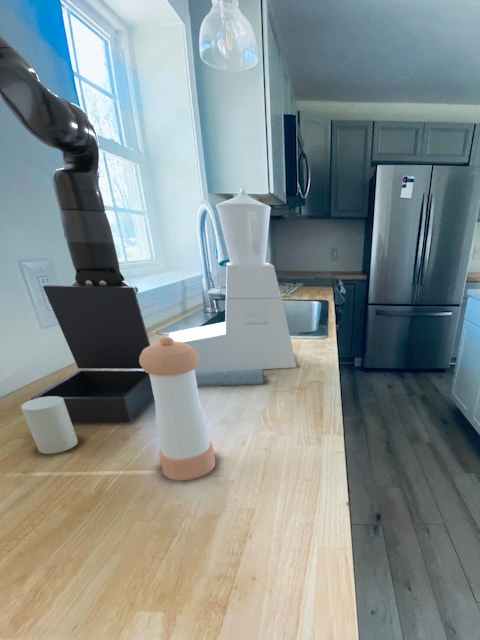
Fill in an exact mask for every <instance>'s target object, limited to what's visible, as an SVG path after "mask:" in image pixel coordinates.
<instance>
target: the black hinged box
mask: <svg viewBox="0 0 480 640" xmlns="http://www.w3.org/2000/svg"><path fill="white" fill-rule="evenodd" d="M48 396H58V397H62V398H63V399H64V402H65V405H66V408H67V411H68V414H69V417H70V420H71V422H72V423H131V422H132V421H133V420H134V419H135V418H136V417H137V416H138V415H139V414H140V413H141V412H142V411H143V409H145V408H146V406H147V405H148V404H149V403H150V402H151V401H152V400H153V399H154V395H153V390H152V385H151V380H150V376H149V373H146V372H145V371H144V369H79V370H77V371H75V372H74V373H72V374H70V375H68V376H67V377H65V378H64V379H62V380H60V381H58V382H56V383H54V384H53V385H51V386H49V387H48V388H46V389H45V390H43V391H41V392H39V393H37V394H35V395H34V396H32V397H31V398H30V400H33V399H36V398H41V397H48Z"/></svg>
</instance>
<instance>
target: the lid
mask: <svg viewBox="0 0 480 640" xmlns="http://www.w3.org/2000/svg"><path fill="white" fill-rule="evenodd" d="M42 289H43V291H44V292H45V296H47V300H48V302H49V304H50V307H51V310H52V312H53V313H54V316H55V318H56V320H57V323H58V325H59V327H60V330H61V332H62V334H63V337H64V339H65V341H66V343H67V346H68V348H69V350H70V353H71V355H72V357H73V360H74V362H75V364H76V366H77V369H79V370H144V369H143V368H142V367H141V365H140V363H139V358H140V355H141V353H142V351H143V349H145V348H147V347H148V346H150V345H151V342H150V339H149V335H148V332H147V329H146V326H145V322H144V317H143V315H142V311H141V308H140V305H139V301H138V297H137V294H136V293H135V290H134V287H133V285H131V286H72V285H65V284H64V285H63V284H62V285H61V284H60V285H58V284H57V285H55V284H49V285H48V284H45V285H43V286H42Z"/></svg>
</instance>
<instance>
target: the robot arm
mask: <svg viewBox="0 0 480 640" xmlns="http://www.w3.org/2000/svg"><path fill="white" fill-rule="evenodd" d="M0 99H1V100H2V102H3V103H4V105H5V106H6V107H7V109H8V111H10V112H11V114H12V115H13V116H14V117H15V118H16V120H17V121H18V123H20V125H21V126H22V127H23V128H24V129H25V130H26V131H27V132H28V133H29V134H30V135H31V136H33V137H34V138H35V139H36V140H38V142H40V143H42V144H43V145H45V146H47V147H48V148H52V149H55V150H57V151H60V155H61V157H60V158H61V168H58V169H55V170H53V172H52V174H51V183H52V187H53V191H54V195H55V198H56V202H57V206H58V209H59V214H60V220H61V226H62V230H63V235H64V238H65V241H66V244H67V248H68V251H69V255H70V259H71V262H72V266H73V268H74V270H75V276H74V279H75V282H74V283H73V284H72V285H71V286H133V285H131V284H129V283H128V282H126V281H125V277H124V276H123V274H122V273H121V270H120V263H119V259H118V254H117V250H116V245H115V241H114V237H113V231H112V228H111V227H112V226H111V224H110V221H109V219H108V216H107V212H106V208H105V204H104V203H105V202H104V200H103V199H104V198H103V195H102V189H101V187H100V173H101V172H100V171H101V170H100V169H101V168H100V165H101V164H100V143H99V139H98V135H97V131H96V128H95V126H94V124H93V122H92V119H91V118H90V117H89V115H88V114H87V113H86V112H85V111H84V110H83V108H81V107H80V106H79V105H77V104H75V103H73V102H70V101H69V100H66V99H65V98H62V97H60V96H58V95H56V94H55V93H53V92H51V90H49V89H48V88H47V87H46V86H45V85H43V83H41V82H40V79H39V76H38V74H37V72H36V70H35V69H34V67H33V66H32V65H31V64H30V63H29V62H28V60H27V59H25V58H24V56H23V55H22V54H21V53H20V52H19V51H18V50H17V49H16V48H15V47H14V46H13V45H11V44H10V43H9V41H7V40H6V38H5V37H3V36H2V35H1V34H0ZM133 287H134V290H135V293H136V295H137V294H138V293H139V289H138V287H137V286H133Z"/></svg>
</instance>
